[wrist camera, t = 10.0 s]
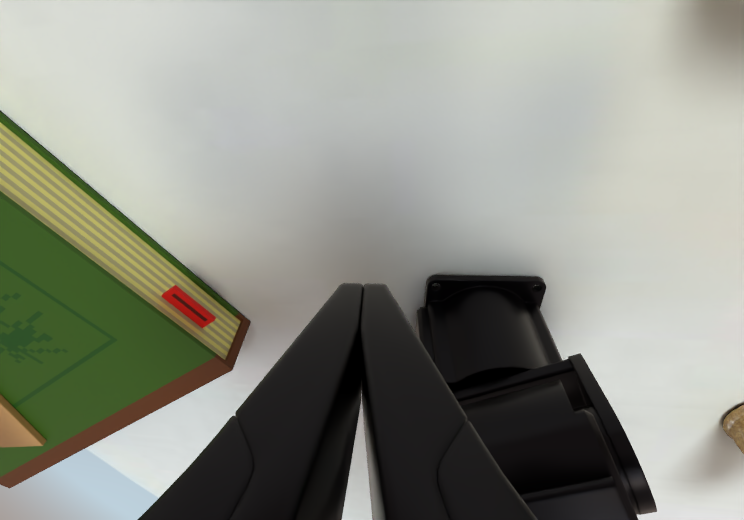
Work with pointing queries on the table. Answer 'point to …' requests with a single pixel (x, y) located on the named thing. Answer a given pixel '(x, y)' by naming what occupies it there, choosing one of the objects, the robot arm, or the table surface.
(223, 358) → the hardcover book
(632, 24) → the table surface
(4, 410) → the ruler
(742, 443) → the sprinkles bottle
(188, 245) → the table surface
